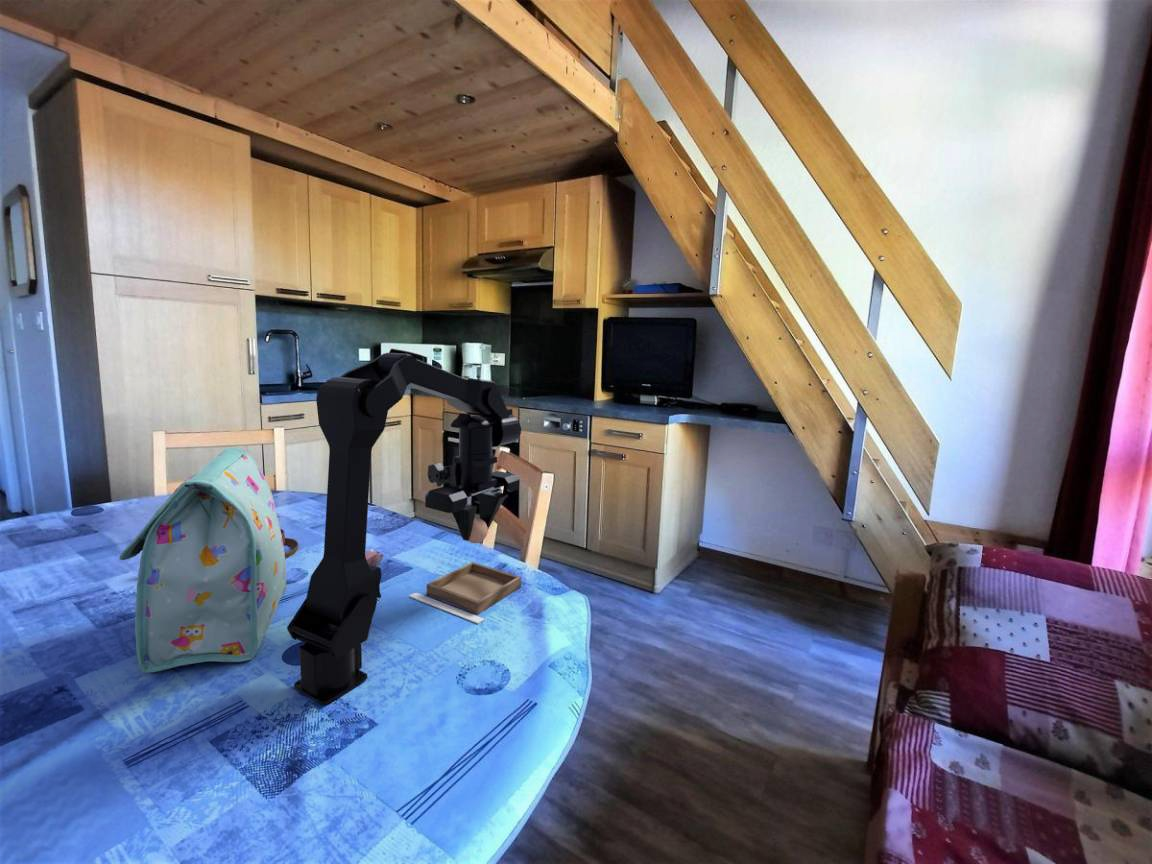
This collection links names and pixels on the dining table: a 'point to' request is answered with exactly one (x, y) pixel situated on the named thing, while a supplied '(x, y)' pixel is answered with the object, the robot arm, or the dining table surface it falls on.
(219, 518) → the lunch bag
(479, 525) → the ball
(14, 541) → the dining table surface
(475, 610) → the tray
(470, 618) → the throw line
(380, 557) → the video game controller
